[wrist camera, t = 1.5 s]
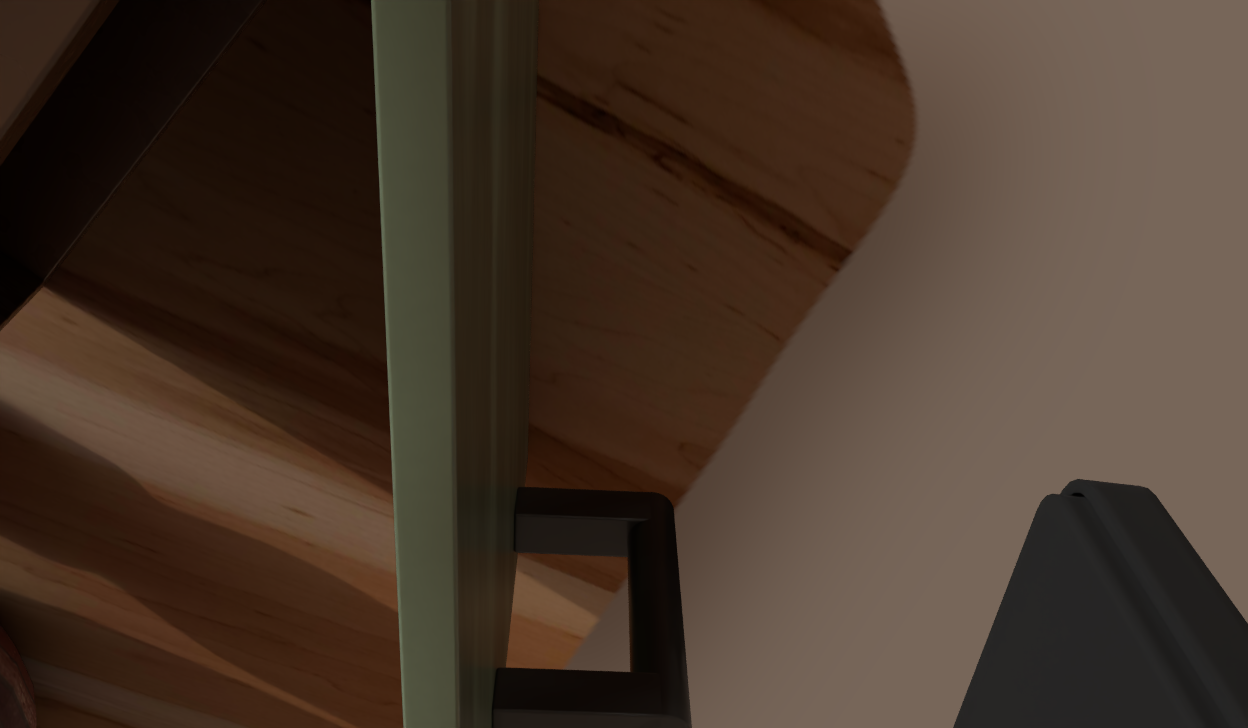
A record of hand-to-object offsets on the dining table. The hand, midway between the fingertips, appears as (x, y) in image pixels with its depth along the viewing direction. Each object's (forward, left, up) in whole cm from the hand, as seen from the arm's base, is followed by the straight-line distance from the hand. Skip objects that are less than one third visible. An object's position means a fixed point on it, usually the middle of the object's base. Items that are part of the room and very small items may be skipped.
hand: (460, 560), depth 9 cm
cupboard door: (+5, +6, -32) cm, 32 cm away
